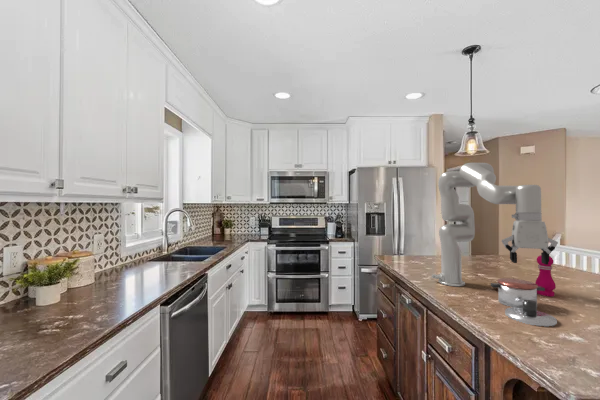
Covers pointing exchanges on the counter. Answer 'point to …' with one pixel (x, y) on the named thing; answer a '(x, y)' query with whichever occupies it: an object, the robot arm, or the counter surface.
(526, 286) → the pot
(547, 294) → the pepper mill
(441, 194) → the robot arm
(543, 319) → the lid
